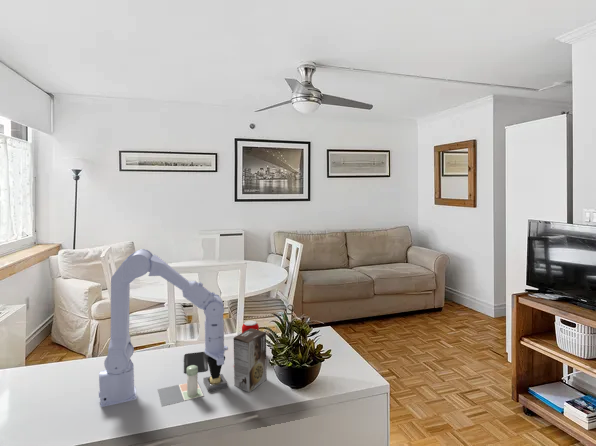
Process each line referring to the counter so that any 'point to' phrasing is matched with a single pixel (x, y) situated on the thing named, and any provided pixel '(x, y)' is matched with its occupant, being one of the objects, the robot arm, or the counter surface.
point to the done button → (215, 380)
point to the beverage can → (249, 325)
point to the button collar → (215, 386)
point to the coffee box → (250, 359)
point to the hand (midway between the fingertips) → (215, 377)
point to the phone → (195, 361)
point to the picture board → (176, 394)
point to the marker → (192, 380)
